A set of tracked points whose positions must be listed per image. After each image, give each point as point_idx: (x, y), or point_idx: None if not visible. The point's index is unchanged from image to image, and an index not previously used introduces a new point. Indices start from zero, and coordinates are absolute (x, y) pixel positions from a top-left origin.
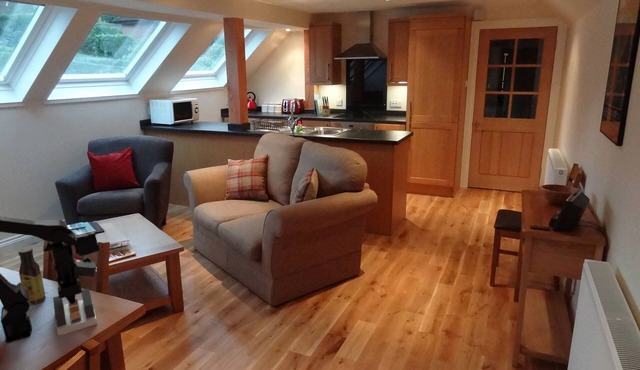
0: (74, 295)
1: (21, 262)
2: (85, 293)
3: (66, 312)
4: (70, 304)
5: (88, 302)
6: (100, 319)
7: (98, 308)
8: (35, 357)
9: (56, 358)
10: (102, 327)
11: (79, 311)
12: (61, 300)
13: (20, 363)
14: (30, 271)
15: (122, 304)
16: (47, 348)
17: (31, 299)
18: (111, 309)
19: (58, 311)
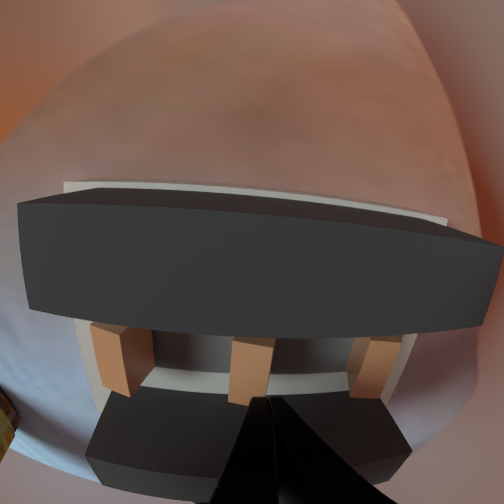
0: (350, 475)
1: None
2: (154, 277)
3: (210, 384)
4: (145, 369)
5: (456, 282)
6: (388, 179)
7: (215, 148)
8: (422, 431)
9: (477, 378)
10: (463, 199)
11: (389, 341)
12: (186, 477)
13: (410, 454)
14: None
15: (280, 3)
16: (413, 414)
17: (11, 435)
18: (303, 73)
19: (368, 477)
